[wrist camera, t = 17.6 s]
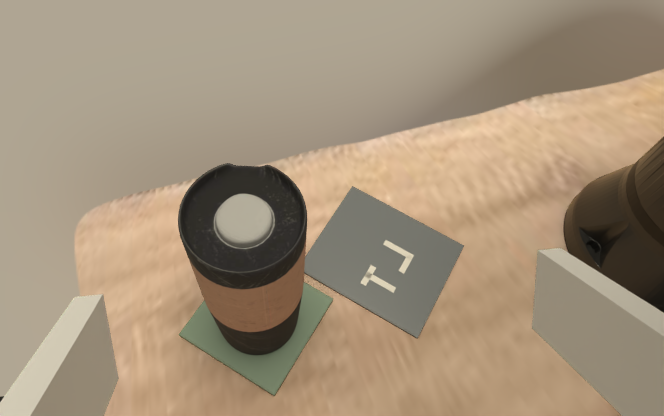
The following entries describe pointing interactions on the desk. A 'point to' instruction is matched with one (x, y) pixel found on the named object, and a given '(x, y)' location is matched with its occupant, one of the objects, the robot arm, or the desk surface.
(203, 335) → the sage green mat
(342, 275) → the card
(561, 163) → the desk surface
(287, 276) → the travel mug
